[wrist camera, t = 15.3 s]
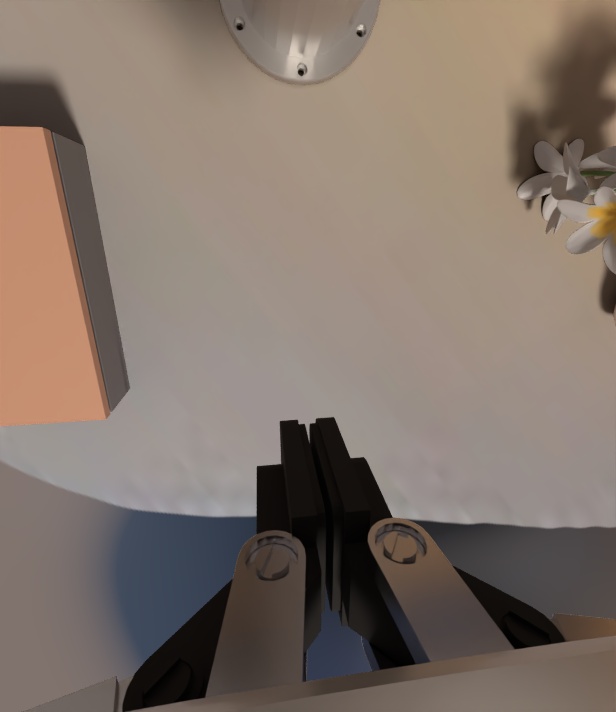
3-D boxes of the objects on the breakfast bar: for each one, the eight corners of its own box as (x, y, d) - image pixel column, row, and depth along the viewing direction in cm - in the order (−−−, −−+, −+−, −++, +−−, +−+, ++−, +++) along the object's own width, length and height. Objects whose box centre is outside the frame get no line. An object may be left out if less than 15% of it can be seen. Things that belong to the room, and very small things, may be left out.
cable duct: (-64, 143, 29) (-125, 128, 24) (84, 146, 30) (53, 132, 26) (13, 395, 37) (-22, 420, 32) (129, 388, 38) (112, 411, 33)
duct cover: (-139, 126, 24) (-155, 123, 23) (50, 130, 25) (42, 127, 24) (-32, 422, 32) (-40, 428, 31) (110, 413, 33) (105, 419, 32)
